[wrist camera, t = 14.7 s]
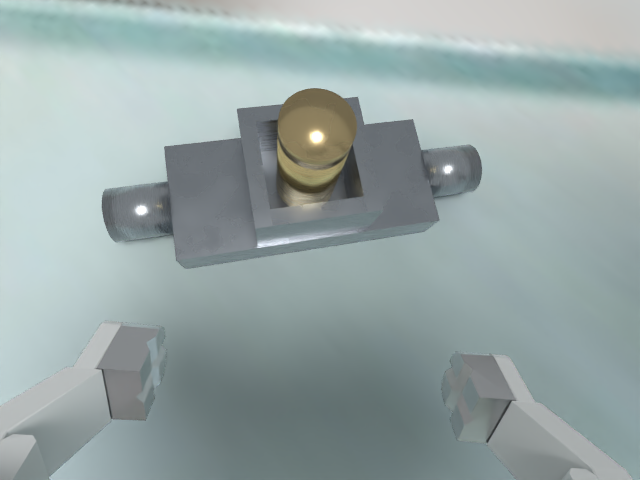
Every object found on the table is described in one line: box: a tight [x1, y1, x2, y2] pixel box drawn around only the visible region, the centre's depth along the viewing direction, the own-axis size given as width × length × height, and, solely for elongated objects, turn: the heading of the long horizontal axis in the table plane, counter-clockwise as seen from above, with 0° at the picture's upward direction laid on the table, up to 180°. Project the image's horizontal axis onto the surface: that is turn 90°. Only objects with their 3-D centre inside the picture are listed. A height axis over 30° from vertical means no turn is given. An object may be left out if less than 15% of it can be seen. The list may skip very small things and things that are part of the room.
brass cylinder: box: [276, 88, 357, 207], centre depth 24 cm, size 4×4×8 cm
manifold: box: [102, 97, 482, 269], centre depth 28 cm, size 26×8×7 cm, turn 101°
